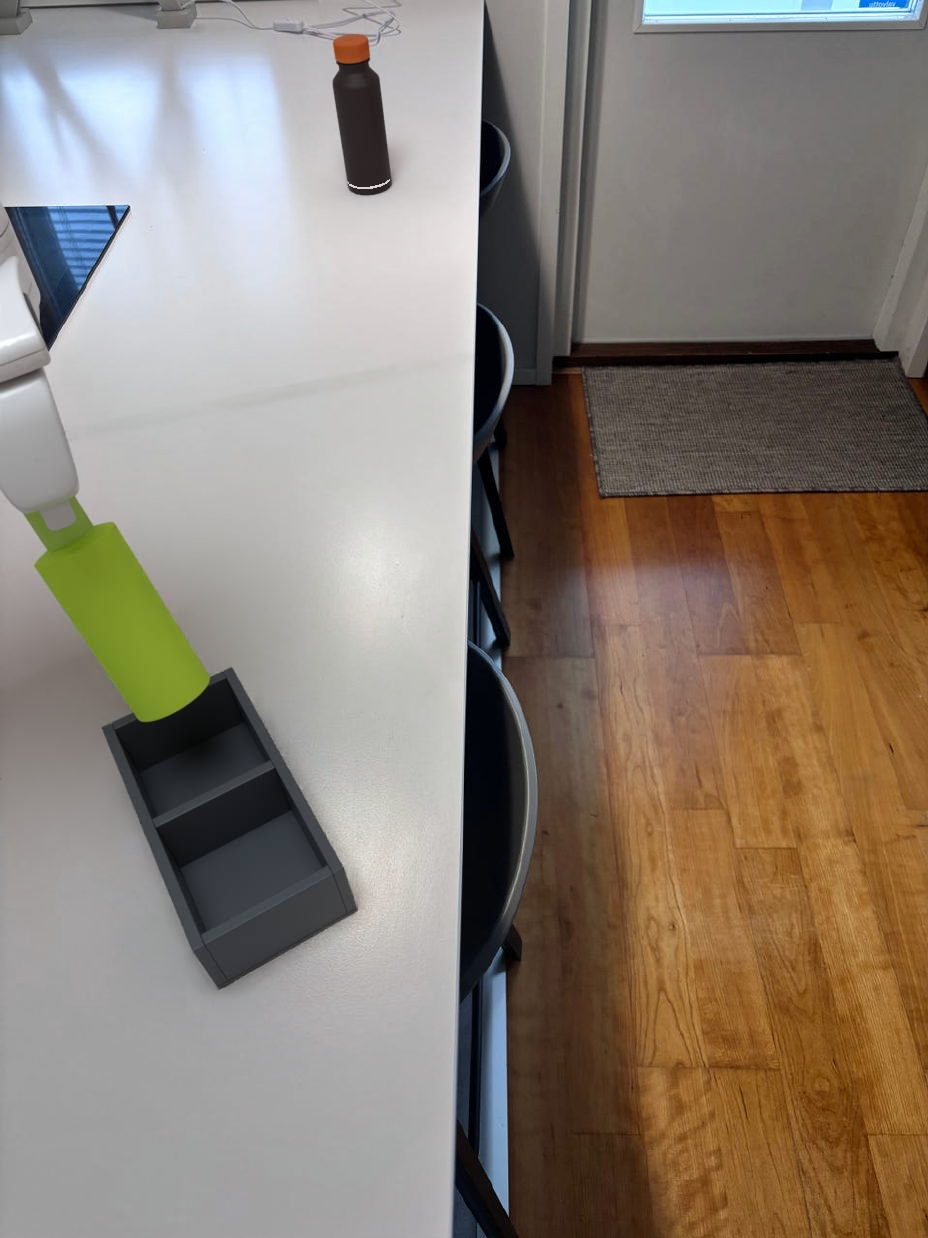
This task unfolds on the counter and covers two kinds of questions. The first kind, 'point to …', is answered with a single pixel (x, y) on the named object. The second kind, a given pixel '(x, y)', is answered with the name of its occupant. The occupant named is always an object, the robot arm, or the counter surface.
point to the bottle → (360, 116)
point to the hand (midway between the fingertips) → (43, 481)
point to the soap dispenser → (119, 615)
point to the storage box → (229, 830)
